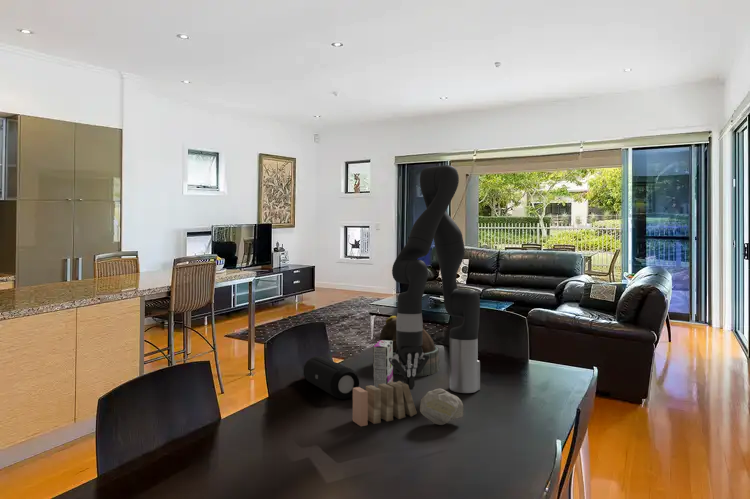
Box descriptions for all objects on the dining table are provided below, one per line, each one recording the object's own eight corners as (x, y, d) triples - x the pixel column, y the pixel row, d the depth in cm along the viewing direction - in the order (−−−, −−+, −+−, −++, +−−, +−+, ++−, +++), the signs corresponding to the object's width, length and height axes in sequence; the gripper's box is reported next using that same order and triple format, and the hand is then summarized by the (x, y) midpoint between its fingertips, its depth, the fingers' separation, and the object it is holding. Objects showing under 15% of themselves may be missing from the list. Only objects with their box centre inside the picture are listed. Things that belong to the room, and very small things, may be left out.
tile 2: (395, 412, 141) (392, 381, 141) (405, 417, 137) (402, 385, 136) (390, 413, 140) (387, 383, 140) (399, 419, 136) (396, 387, 135)
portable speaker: (300, 384, 171) (301, 356, 171) (326, 380, 176) (326, 353, 176) (333, 404, 149) (334, 371, 149) (361, 399, 155) (361, 367, 155)
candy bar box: (379, 387, 167) (379, 339, 168) (393, 388, 166) (393, 340, 167) (372, 397, 156) (372, 345, 157) (387, 398, 155) (387, 346, 156)
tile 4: (371, 417, 137) (371, 385, 137) (380, 422, 133) (380, 389, 133) (365, 418, 136) (365, 386, 136) (374, 423, 132) (374, 390, 132)
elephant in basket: (372, 367, 197) (372, 313, 197) (432, 366, 200) (432, 312, 200) (378, 382, 174) (378, 321, 174) (446, 380, 177) (447, 320, 177)
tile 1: (407, 408, 143) (398, 380, 141) (416, 413, 138) (408, 384, 137) (401, 411, 142) (393, 383, 141) (411, 416, 138) (402, 388, 136)
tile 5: (359, 419, 135) (359, 387, 135) (367, 425, 131) (367, 391, 131) (352, 420, 134) (352, 387, 134) (360, 426, 130) (361, 392, 130)
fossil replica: (458, 419, 135) (458, 383, 135) (469, 430, 127) (469, 391, 127) (416, 421, 133) (416, 385, 133) (424, 432, 125) (425, 393, 125)
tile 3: (384, 415, 139) (384, 383, 139) (393, 420, 135) (393, 387, 135) (377, 416, 138) (378, 384, 138) (386, 421, 134) (387, 388, 134)
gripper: (396, 332, 134) (396, 395, 134) (435, 328, 140) (435, 389, 140) (383, 328, 140) (382, 388, 140) (421, 325, 147) (420, 383, 147)
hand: (409, 389), depth 140 cm, fingers closed
